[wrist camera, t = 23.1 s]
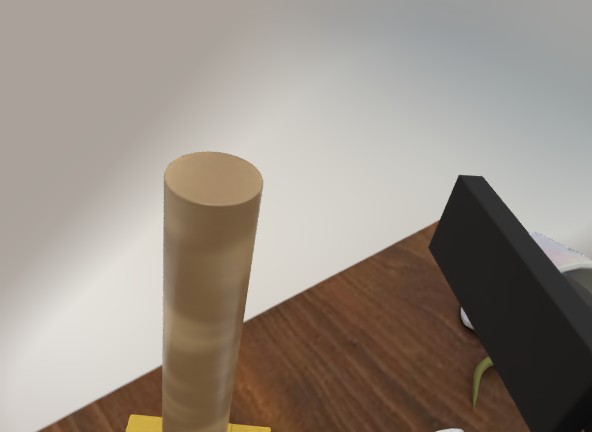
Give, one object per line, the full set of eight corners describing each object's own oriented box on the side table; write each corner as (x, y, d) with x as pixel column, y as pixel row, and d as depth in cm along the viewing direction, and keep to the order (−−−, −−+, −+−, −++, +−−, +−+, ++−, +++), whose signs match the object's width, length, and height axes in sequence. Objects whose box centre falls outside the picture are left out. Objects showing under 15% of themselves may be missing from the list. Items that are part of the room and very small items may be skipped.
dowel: (156, 543, 34) (153, 197, 17) (167, 487, 36) (174, 145, 20) (210, 547, 34) (260, 211, 17) (217, 491, 37) (265, 158, 20)
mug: (568, 278, 61) (627, 330, 52) (450, 323, 62) (488, 381, 53) (556, 205, 57) (618, 246, 48) (429, 254, 57) (466, 304, 48)
